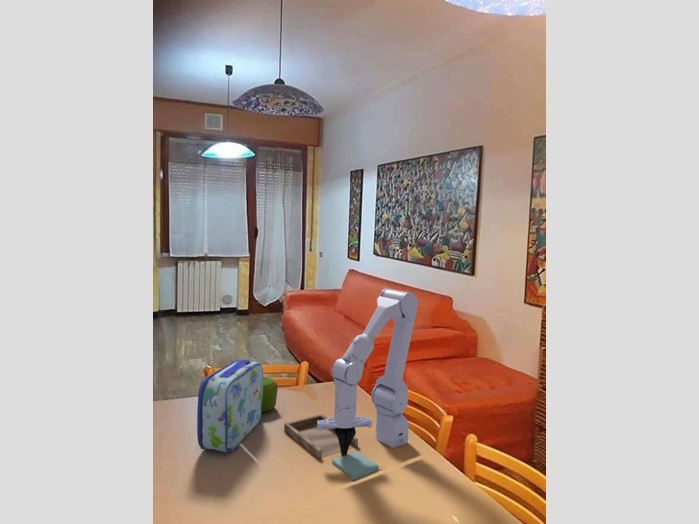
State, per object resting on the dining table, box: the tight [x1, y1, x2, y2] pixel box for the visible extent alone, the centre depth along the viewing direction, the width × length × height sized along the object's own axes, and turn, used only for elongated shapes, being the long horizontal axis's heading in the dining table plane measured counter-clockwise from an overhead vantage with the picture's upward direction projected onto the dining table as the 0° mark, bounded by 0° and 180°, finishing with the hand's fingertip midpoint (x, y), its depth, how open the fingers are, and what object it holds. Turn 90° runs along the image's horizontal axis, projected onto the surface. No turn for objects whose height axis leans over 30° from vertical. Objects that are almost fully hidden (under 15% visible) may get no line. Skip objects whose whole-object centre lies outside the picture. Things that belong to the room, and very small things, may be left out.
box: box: [283, 413, 359, 460], centre depth 135 cm, size 19×13×3 cm
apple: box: [261, 376, 279, 413], centre depth 155 cm, size 11×11×11 cm
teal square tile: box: [331, 451, 380, 483], centre depth 120 cm, size 9×8×2 cm
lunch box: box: [196, 359, 264, 453], centre depth 135 cm, size 26×11×21 cm, turn 168°
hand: (343, 453), depth 125 cm, fingers closed
